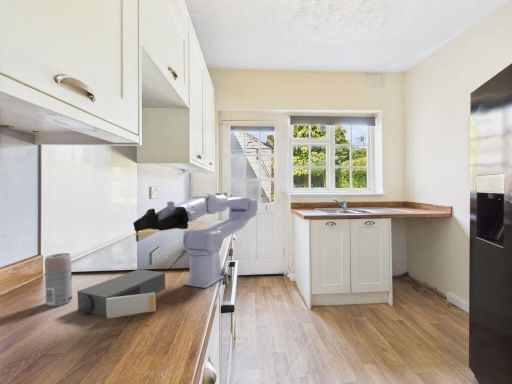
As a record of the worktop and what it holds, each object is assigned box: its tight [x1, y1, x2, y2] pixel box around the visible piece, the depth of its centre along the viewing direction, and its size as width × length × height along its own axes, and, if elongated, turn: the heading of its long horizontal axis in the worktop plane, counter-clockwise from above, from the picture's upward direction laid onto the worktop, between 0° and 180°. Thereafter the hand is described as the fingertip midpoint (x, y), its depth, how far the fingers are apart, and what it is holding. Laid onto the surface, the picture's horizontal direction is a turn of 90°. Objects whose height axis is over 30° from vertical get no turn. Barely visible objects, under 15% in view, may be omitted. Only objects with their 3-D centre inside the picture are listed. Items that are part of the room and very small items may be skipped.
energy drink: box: [44, 252, 73, 308], centre depth 67 cm, size 5×5×12 cm
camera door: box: [106, 292, 157, 319], centre depth 59 cm, size 10×1×4 cm, turn 106°
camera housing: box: [77, 269, 166, 319], centre depth 68 cm, size 19×10×4 cm, turn 156°
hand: (146, 226), depth 61 cm, fingers open, 7 cm apart
